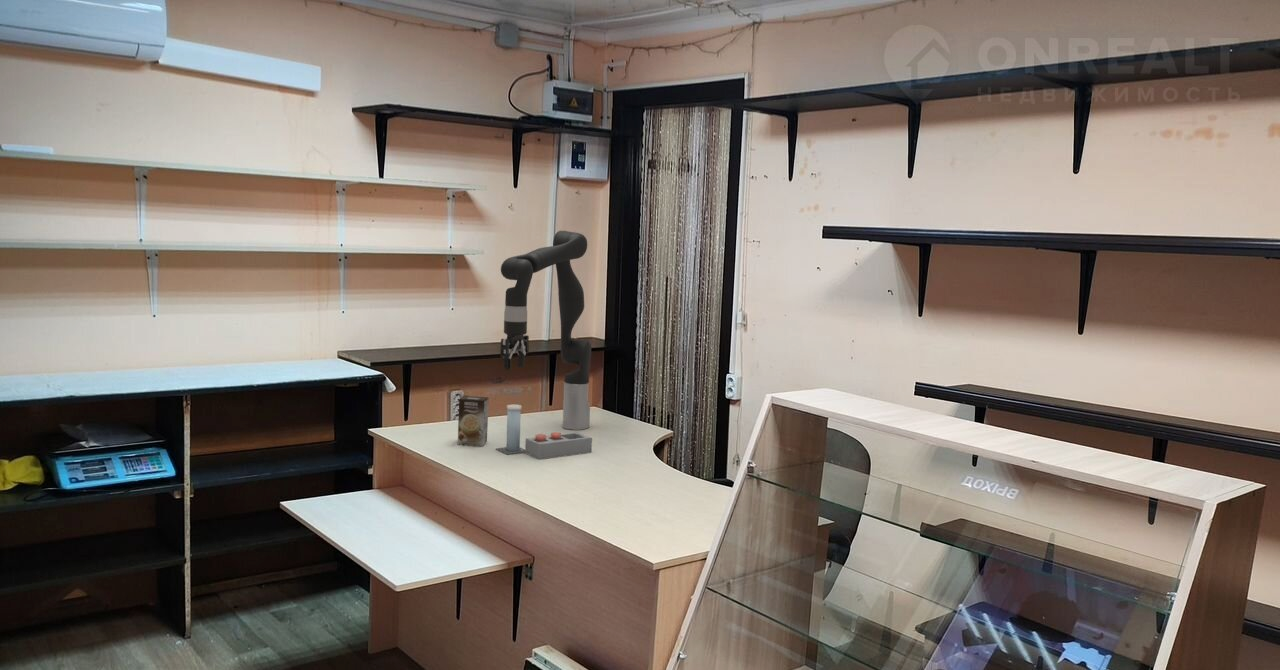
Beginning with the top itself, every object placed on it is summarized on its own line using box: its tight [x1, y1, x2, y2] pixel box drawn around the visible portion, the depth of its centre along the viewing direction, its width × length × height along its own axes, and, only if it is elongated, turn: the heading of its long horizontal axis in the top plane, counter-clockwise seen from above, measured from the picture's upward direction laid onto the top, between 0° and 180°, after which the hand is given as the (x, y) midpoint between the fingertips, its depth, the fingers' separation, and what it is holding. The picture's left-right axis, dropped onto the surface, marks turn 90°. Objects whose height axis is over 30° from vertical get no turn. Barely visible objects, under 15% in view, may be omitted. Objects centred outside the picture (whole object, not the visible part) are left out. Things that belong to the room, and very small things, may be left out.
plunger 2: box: [550, 431, 562, 440], centre depth 309 cm, size 3×3×6 cm
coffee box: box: [457, 395, 489, 447], centre depth 316 cm, size 9×6×16 cm
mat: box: [495, 446, 526, 456], centre depth 310 cm, size 8×8×1 cm
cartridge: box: [505, 404, 522, 452], centre depth 309 cm, size 5×5×15 cm
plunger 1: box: [534, 433, 547, 442], centre depth 305 cm, size 3×3×6 cm
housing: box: [524, 431, 593, 460], centre depth 310 cm, size 20×9×5 cm, turn 127°
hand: (514, 368), depth 306 cm, fingers open, 8 cm apart
